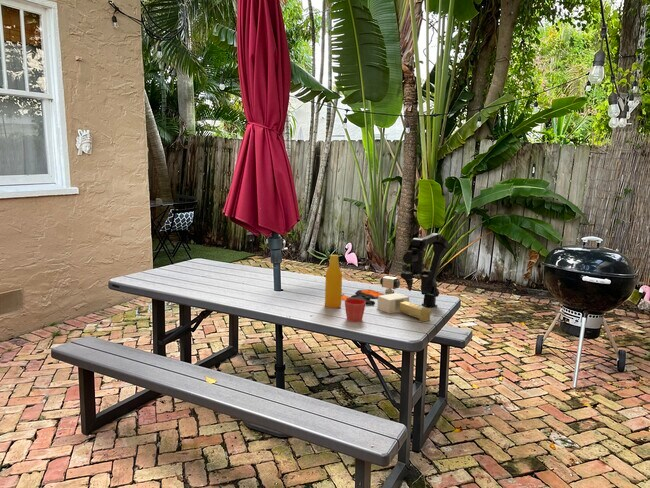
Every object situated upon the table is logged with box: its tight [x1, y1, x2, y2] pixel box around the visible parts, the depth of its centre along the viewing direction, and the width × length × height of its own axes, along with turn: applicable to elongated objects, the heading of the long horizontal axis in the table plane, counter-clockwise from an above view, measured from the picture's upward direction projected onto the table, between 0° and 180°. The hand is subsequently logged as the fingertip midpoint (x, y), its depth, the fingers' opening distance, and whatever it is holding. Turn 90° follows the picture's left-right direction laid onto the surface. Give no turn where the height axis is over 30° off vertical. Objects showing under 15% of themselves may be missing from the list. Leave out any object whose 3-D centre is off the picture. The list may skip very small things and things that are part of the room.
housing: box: [377, 292, 410, 314], centre depth 258 cm, size 14×10×7 cm
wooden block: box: [398, 301, 432, 323], centre depth 244 cm, size 6×17×6 cm, turn 32°
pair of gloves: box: [341, 289, 386, 306], centre depth 279 cm, size 27×24×3 cm
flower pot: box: [344, 299, 367, 323], centre depth 238 cm, size 11×11×10 cm
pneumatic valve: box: [379, 275, 401, 295], centre depth 289 cm, size 6×12×12 cm, turn 51°
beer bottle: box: [324, 254, 343, 309], centre depth 260 cm, size 9×9×29 cm
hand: (416, 289), depth 254 cm, fingers open, 9 cm apart
